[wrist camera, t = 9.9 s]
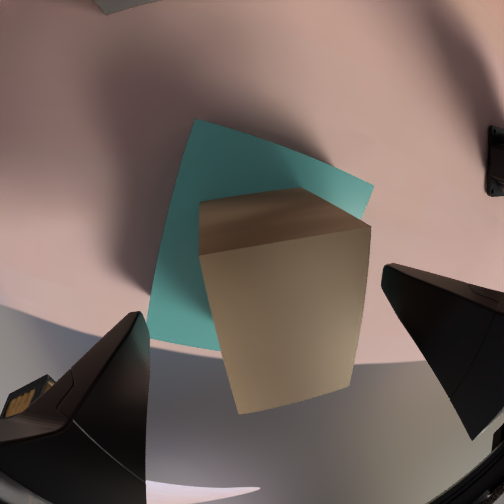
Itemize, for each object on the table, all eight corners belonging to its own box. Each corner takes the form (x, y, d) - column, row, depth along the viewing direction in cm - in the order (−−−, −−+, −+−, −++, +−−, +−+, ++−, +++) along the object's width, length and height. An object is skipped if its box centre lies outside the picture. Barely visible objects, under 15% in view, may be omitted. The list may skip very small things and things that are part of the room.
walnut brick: (301, 187, 11) (371, 226, 6) (305, 310, 13) (348, 386, 9) (199, 201, 10) (198, 255, 6) (223, 327, 13) (238, 414, 8)
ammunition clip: (20, 404, 18) (-4, 486, 7) (8, 394, 17) (-19, 476, 6) (62, 387, 17) (34, 501, 6) (47, 373, 16) (11, 488, 6)
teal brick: (335, 172, 15) (374, 185, 11) (275, 317, 18) (292, 358, 14) (197, 124, 12) (195, 118, 9) (154, 294, 16) (144, 337, 12)
